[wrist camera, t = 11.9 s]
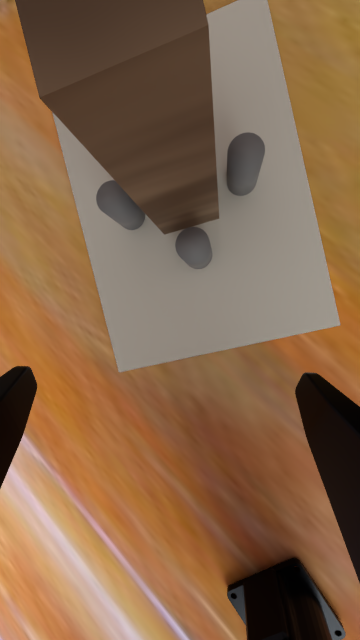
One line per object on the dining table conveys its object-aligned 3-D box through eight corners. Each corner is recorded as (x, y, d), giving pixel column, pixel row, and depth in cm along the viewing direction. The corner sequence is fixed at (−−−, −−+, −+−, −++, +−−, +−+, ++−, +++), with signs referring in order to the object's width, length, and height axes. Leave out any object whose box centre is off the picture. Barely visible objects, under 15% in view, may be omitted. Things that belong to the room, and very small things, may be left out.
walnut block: (219, 218, 18) (208, 24, 5) (164, 234, 19) (39, 97, 6) (206, 160, 18) (162, -178, 5) (151, 179, 19) (-5, -80, 6)
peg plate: (333, 323, 19) (369, 331, 14) (124, 368, 21) (97, 387, 17) (262, 8, 18) (275, -93, 13) (55, 98, 21) (7, 40, 16)
